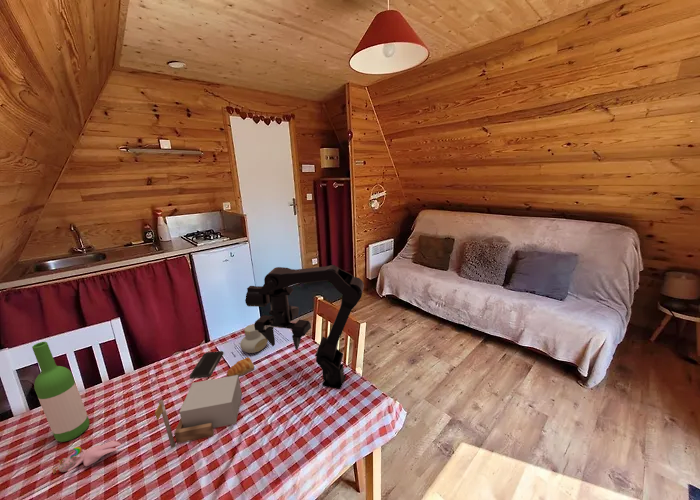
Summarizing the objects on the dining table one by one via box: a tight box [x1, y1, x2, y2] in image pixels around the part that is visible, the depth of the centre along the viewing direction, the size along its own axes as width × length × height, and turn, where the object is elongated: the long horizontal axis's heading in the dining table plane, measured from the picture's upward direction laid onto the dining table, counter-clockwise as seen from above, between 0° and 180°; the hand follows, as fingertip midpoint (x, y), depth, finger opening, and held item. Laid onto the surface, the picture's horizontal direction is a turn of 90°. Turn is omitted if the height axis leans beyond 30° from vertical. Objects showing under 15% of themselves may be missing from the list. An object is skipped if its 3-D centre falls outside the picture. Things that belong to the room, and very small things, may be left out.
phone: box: [189, 350, 224, 380], centre depth 116 cm, size 8×1×15 cm
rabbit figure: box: [52, 440, 122, 474], centre depth 78 cm, size 6×6×15 cm
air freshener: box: [239, 323, 269, 354], centre depth 123 cm, size 11×8×10 cm
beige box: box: [179, 375, 243, 429], centre depth 91 cm, size 14×12×8 cm
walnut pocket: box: [154, 399, 215, 449], centre depth 87 cm, size 11×21×15 cm, turn 11°
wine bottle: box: [31, 341, 90, 443], centre depth 84 cm, size 8×8×30 cm
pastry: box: [226, 357, 255, 377], centre depth 110 cm, size 9×7×4 cm
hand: (285, 347), depth 101 cm, fingers open, 9 cm apart
